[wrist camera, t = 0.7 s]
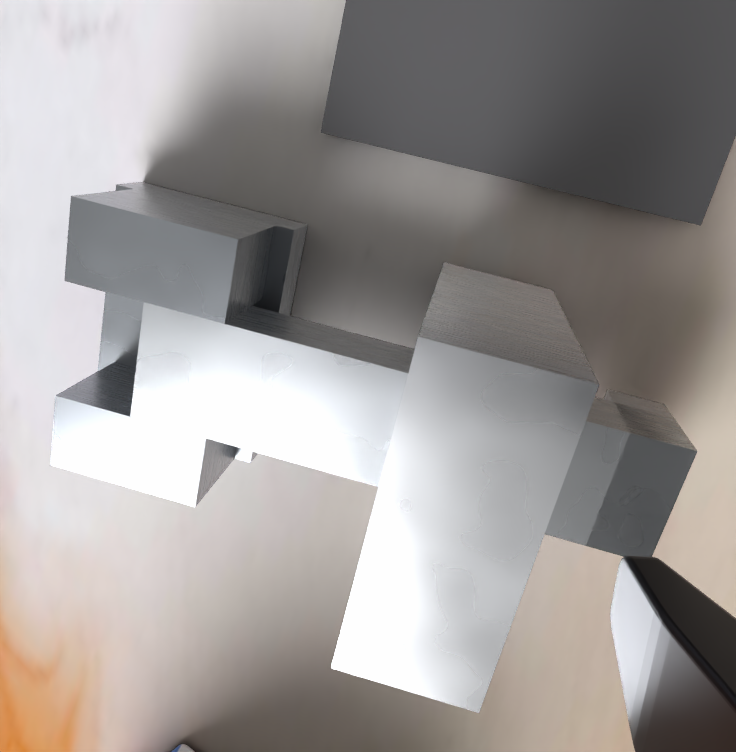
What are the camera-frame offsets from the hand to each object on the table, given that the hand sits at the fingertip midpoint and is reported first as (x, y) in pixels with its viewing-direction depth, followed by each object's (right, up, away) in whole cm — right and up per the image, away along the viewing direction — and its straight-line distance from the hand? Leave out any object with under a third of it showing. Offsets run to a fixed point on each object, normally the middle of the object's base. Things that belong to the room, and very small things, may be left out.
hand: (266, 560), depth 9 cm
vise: (+2, +3, +12) cm, 12 cm away
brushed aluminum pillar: (+3, +1, +7) cm, 8 cm away
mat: (+6, +11, +8) cm, 15 cm away
